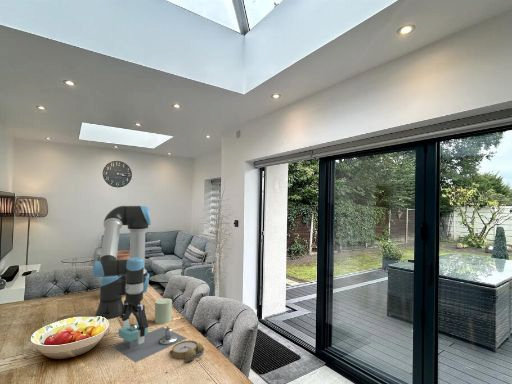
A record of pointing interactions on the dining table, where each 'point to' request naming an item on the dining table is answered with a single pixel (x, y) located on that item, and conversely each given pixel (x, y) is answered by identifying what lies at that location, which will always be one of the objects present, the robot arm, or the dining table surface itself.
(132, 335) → the teal square collar
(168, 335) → the bell
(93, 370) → the dining table surface
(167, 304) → the can
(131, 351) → the mat
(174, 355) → the alarm clock
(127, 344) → the stand
